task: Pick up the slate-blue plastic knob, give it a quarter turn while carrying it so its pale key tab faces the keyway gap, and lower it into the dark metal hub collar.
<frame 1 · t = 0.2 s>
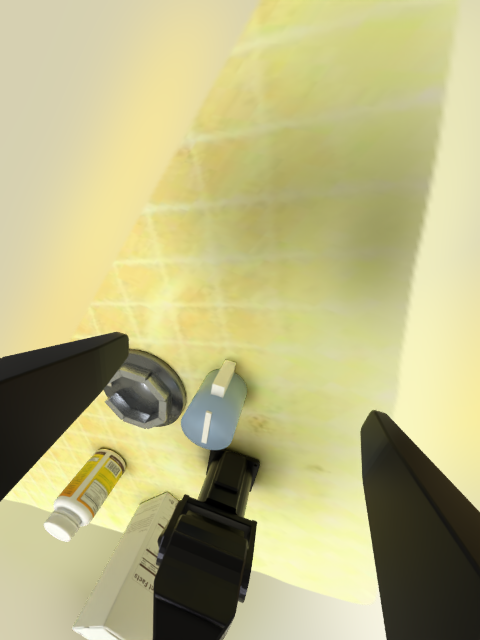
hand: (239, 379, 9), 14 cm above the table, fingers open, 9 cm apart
hub: (145, 387, 31), on the table
supplement box: (172, 511, 43), on the table
knob: (225, 387, 28), on the table
supplement bottle: (113, 458, 41), on the table
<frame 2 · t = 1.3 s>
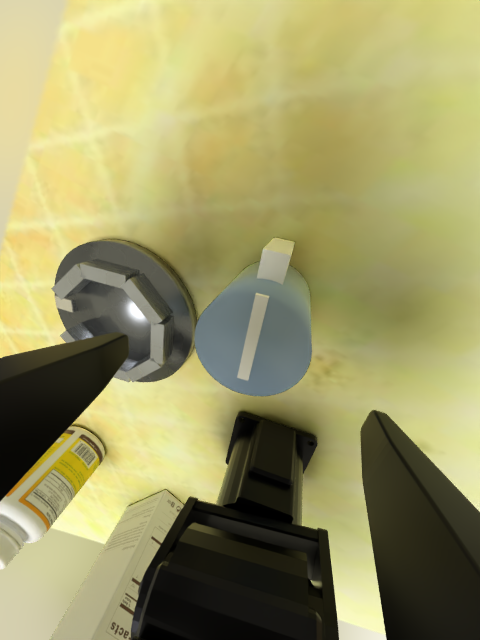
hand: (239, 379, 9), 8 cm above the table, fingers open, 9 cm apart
hub: (129, 314, 19), on the table
supplement box: (172, 517, 31), on the table
knob: (269, 300, 16), on the table
supplement bottle: (87, 440, 28), on the table
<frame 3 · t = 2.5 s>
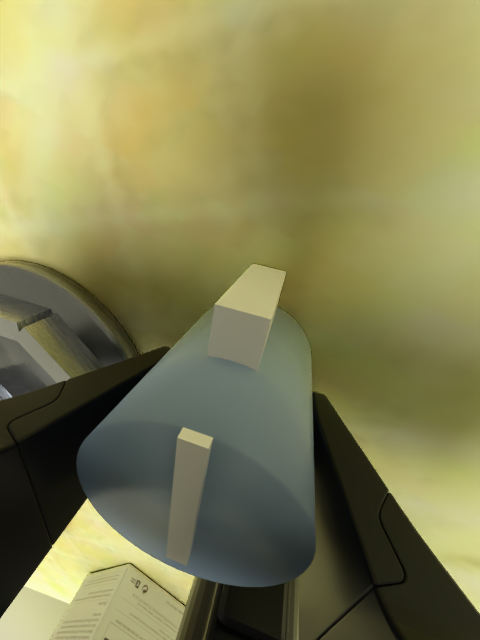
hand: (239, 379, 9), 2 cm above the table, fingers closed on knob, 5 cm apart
hub: (55, 363, 13), on the table
supplement box: (142, 590, 25), on the table
knob: (248, 355, 10), on the table, touching gripper
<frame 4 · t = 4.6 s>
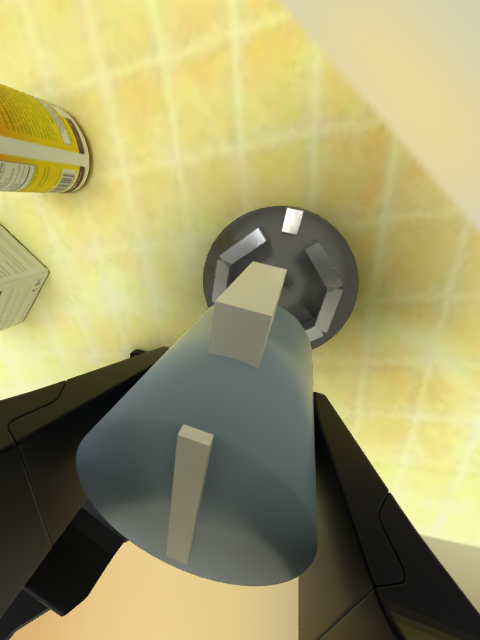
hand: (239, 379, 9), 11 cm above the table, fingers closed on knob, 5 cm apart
hub: (276, 286, 19), on the table
supplement box: (3, 266, 25), on the table
knob: (248, 354, 10), point 10 cm above the table, touching gripper
supplement bottle: (63, 153, 19), on the table
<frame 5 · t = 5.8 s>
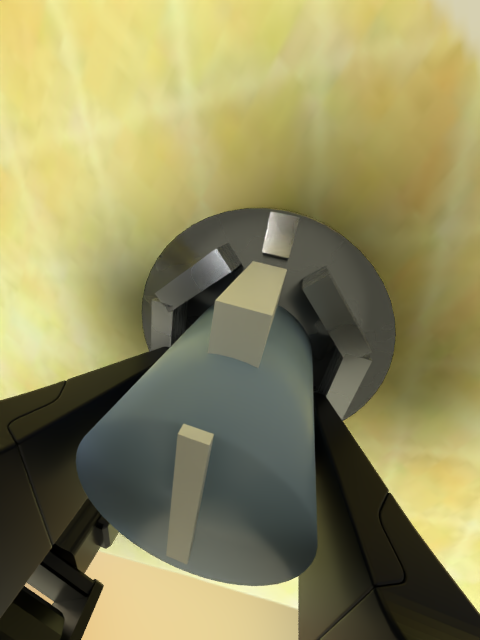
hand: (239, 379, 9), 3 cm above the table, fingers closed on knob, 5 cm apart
hub: (257, 334, 12), on the table
knob: (248, 354, 10), point 2 cm above the table, touching gripper
when the fingers open (3 cm above the table, at t = 6.6 s): knob stays where it is, resting on hub.
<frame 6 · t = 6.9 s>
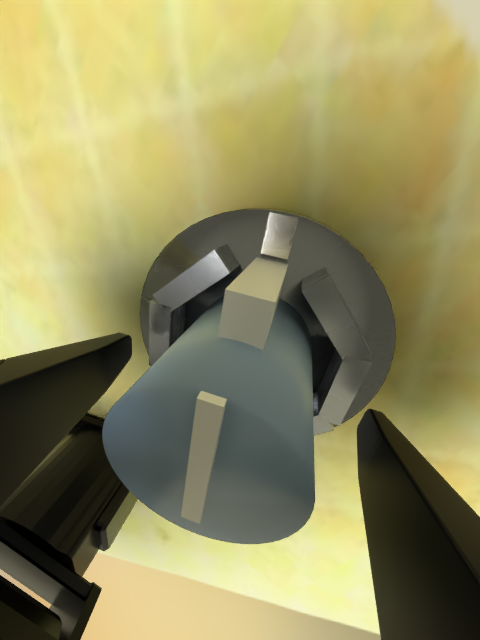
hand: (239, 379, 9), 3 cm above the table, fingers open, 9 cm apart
hub: (256, 335, 12), on the table
knob: (252, 345, 11), point 1 cm above the table, touching hub
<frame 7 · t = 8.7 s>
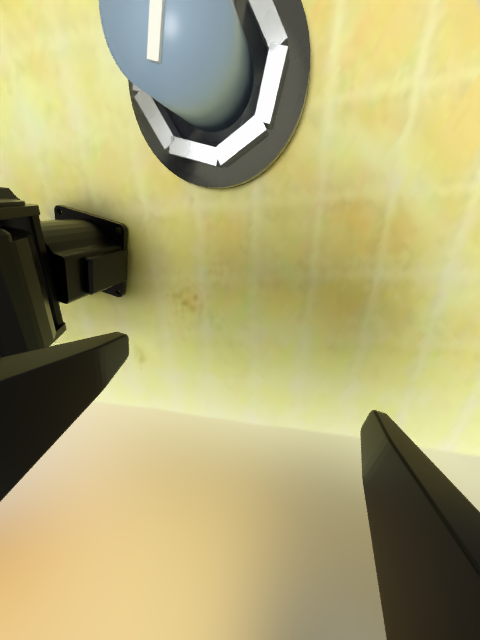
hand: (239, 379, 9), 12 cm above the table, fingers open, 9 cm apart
hub: (217, 88, 15), on the table
knob: (211, 79, 15), point 1 cm above the table, touching hub
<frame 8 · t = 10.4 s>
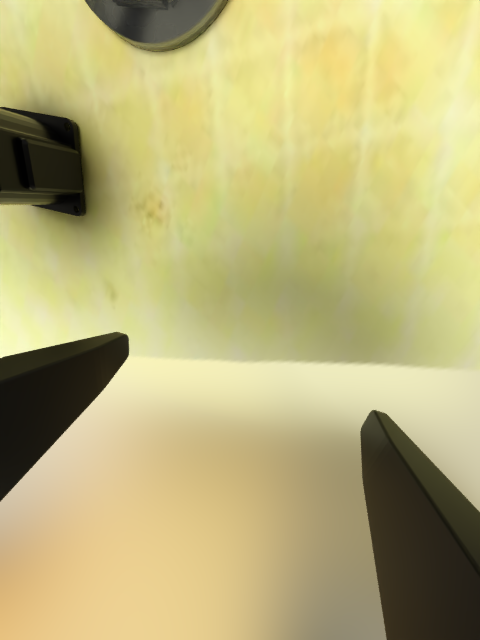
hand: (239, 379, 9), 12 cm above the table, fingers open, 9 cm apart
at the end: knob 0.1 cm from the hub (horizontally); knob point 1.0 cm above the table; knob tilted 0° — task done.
